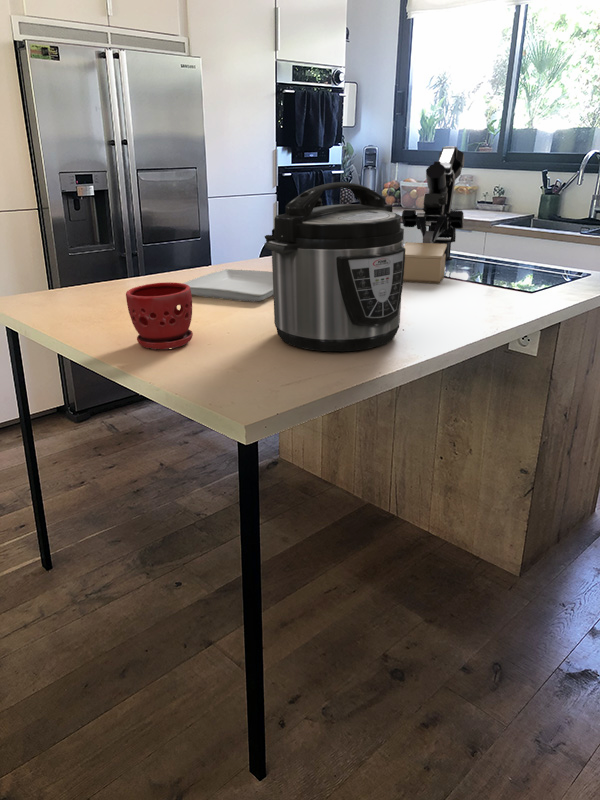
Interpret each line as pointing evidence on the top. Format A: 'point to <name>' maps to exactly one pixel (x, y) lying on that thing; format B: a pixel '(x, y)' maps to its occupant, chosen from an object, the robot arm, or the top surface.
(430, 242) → the lid
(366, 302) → the pressure cooker
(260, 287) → the square plate
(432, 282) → the carton
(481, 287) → the top surface
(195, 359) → the top surface
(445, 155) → the robot arm
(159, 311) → the plant pot
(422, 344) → the top surface
